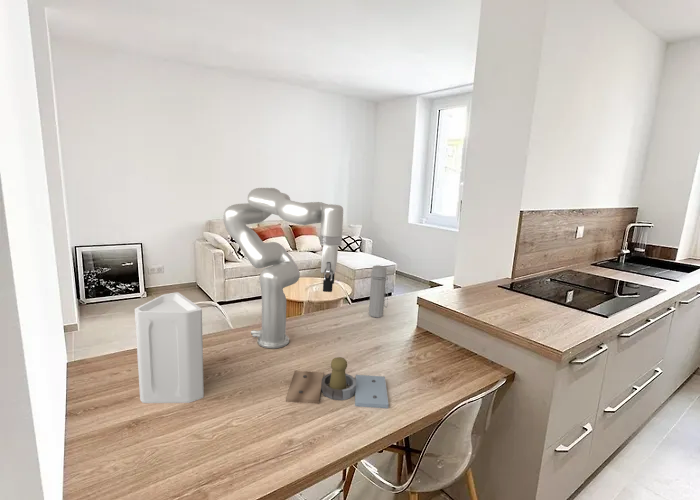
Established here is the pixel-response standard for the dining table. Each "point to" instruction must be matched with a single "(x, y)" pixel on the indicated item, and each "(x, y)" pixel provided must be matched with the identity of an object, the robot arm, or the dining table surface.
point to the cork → (338, 374)
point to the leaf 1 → (311, 387)
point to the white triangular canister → (169, 350)
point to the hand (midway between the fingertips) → (328, 287)
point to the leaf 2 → (367, 391)
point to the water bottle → (377, 291)
